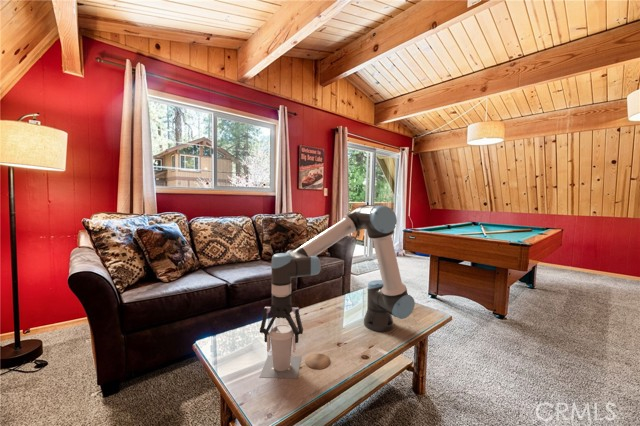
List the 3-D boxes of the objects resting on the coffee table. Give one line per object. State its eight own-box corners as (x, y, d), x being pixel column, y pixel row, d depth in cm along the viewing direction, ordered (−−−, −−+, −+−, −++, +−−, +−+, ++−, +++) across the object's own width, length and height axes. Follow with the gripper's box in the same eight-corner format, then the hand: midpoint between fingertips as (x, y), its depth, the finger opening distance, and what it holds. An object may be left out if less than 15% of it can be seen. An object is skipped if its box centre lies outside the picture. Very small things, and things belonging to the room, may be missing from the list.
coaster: (330, 354, 115) (330, 353, 115) (330, 369, 105) (330, 368, 105) (306, 354, 116) (306, 353, 116) (304, 368, 106) (304, 367, 106)
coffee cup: (270, 359, 111) (270, 323, 111) (294, 358, 112) (294, 322, 111) (268, 374, 102) (268, 335, 101) (293, 373, 103) (293, 334, 102)
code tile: (301, 356, 114) (301, 356, 114) (297, 378, 100) (297, 378, 100) (268, 355, 114) (268, 355, 114) (259, 377, 100) (259, 377, 100)
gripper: (310, 291, 109) (310, 345, 110) (256, 289, 110) (256, 344, 111) (309, 297, 101) (308, 356, 103) (250, 296, 102) (250, 354, 104)
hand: (281, 350), depth 107 cm, fingers closed on coffee cup, 9 cm apart
